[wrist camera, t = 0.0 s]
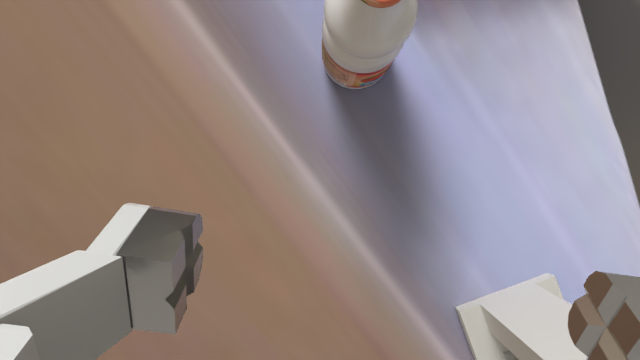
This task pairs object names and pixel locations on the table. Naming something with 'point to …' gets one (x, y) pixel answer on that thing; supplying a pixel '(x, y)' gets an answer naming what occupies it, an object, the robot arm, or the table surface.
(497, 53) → the table surface
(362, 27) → the fruit juice
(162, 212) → the robot arm
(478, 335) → the press frame
